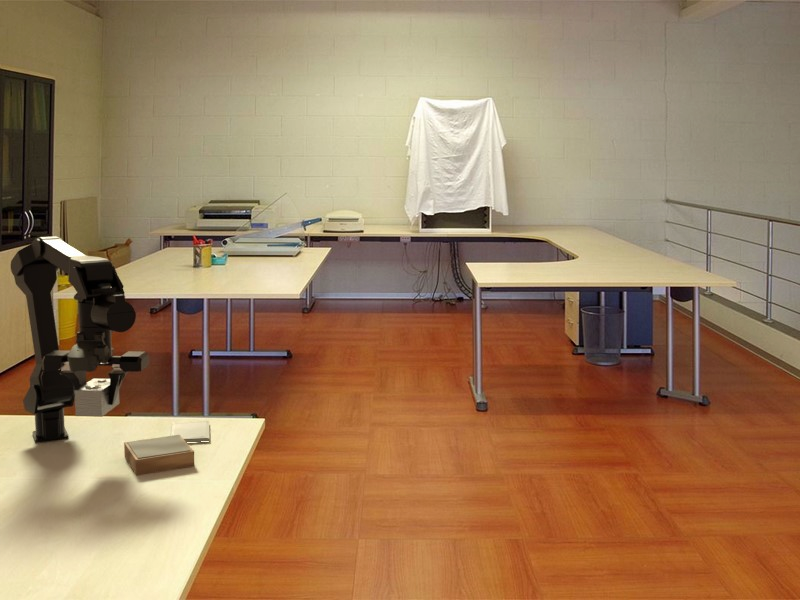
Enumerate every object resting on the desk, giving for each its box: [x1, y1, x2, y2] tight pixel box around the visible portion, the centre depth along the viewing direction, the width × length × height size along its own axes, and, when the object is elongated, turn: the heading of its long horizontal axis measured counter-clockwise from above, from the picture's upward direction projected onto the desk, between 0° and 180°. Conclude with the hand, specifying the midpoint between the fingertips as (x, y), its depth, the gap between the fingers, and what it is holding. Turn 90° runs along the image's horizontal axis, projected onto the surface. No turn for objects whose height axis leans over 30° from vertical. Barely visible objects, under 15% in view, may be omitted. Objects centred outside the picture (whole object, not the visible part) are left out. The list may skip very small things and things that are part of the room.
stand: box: [123, 435, 195, 476], centre depth 158 cm, size 11×11×3 cm
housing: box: [74, 378, 120, 418], centre depth 155 cm, size 9×5×5 cm, turn 179°
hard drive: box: [169, 420, 211, 443], centre depth 175 cm, size 2×8×12 cm
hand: (98, 404), depth 155 cm, fingers closed on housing, 5 cm apart
